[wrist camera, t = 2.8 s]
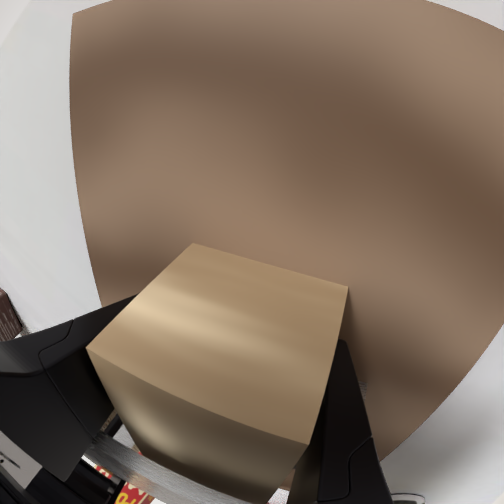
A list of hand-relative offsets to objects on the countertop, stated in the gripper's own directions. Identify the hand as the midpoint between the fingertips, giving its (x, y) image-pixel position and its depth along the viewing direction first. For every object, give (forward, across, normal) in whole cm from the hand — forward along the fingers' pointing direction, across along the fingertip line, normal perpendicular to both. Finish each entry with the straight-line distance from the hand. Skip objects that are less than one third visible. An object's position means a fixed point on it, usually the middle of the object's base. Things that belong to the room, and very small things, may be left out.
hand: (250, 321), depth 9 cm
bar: (+1, 0, +5) cm, 5 cm away
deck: (+3, 0, +5) cm, 6 cm away
